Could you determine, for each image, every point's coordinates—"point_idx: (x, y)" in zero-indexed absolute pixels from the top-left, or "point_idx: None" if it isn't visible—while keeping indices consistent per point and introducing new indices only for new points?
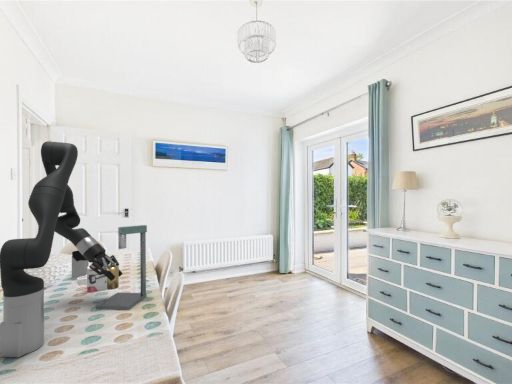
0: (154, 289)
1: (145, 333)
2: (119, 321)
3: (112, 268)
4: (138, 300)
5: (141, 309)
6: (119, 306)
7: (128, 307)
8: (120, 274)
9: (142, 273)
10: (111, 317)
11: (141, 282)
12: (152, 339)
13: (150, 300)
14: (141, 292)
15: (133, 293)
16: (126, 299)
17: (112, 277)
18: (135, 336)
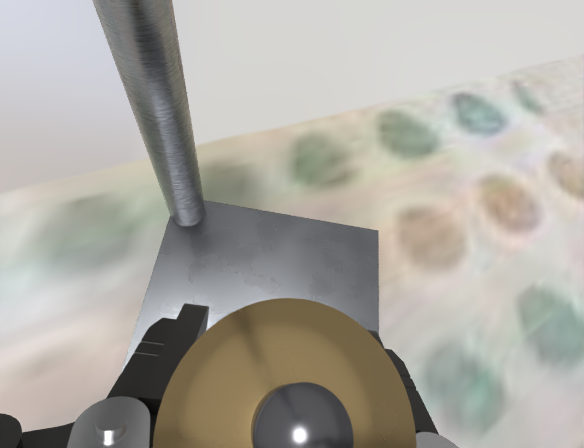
0: (45, 192)
1: (531, 122)
2: (481, 236)
3: (396, 370)
4: (277, 216)
5: (359, 183)
6: (377, 286)
7: (376, 235)
8: (206, 325)
9: (187, 101)
10: (455, 293)
11: (194, 168)
12: (552, 99)
13: (247, 171)
14: (202, 209)
15: (161, 282)
16: (276, 286)
17: (388, 351)
18: (555, 145)
